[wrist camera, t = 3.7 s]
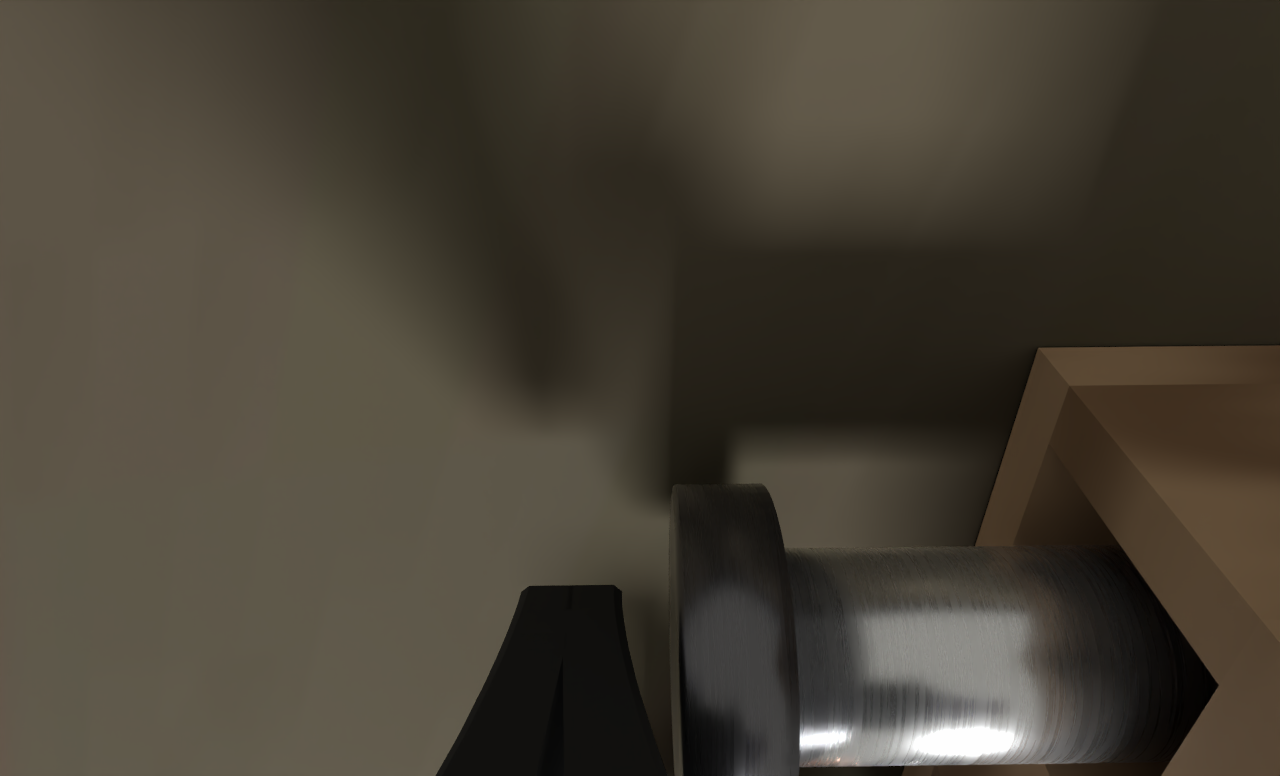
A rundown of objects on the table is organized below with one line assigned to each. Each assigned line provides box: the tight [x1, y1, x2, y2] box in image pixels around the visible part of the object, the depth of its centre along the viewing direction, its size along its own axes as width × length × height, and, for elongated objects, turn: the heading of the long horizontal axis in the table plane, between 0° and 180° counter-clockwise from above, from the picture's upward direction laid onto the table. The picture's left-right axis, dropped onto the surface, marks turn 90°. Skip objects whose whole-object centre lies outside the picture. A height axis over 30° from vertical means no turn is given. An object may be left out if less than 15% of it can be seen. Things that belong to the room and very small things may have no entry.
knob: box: [669, 484, 1219, 776], centre depth 11 cm, size 7×5×5 cm
